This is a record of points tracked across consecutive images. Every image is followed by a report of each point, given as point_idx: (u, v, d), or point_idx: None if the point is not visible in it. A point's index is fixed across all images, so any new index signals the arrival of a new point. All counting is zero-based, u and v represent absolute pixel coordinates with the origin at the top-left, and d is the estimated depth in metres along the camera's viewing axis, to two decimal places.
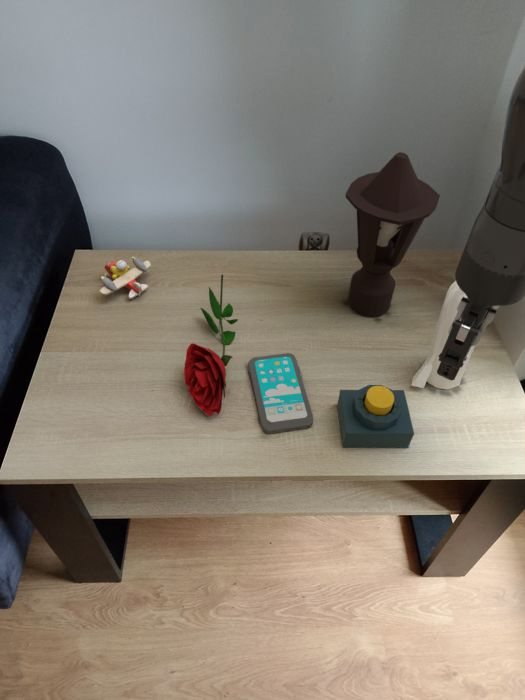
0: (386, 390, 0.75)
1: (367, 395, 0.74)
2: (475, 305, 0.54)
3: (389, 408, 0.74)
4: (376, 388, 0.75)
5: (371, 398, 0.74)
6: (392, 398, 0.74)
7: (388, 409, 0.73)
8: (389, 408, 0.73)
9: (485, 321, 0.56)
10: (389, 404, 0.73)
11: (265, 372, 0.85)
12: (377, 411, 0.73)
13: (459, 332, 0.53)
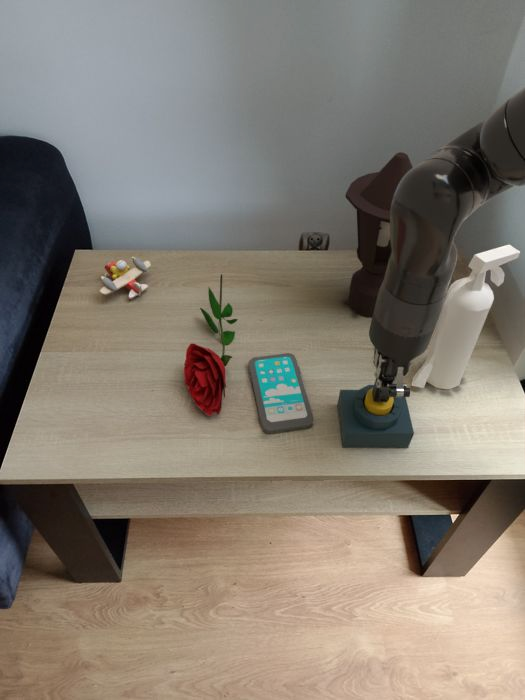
0: None
1: (367, 397, 0.74)
2: (400, 363, 0.63)
3: (388, 410, 0.74)
4: None
5: (371, 400, 0.74)
6: (391, 400, 0.74)
7: (388, 410, 0.74)
8: (388, 410, 0.74)
9: None
10: (388, 406, 0.73)
11: (265, 372, 0.85)
12: (376, 413, 0.74)
13: (396, 396, 0.64)
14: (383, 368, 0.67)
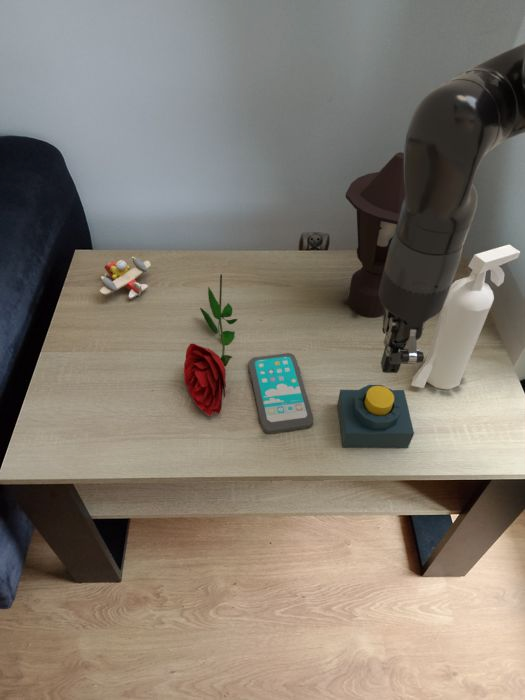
0: (386, 390, 0.75)
1: (367, 395, 0.74)
2: (413, 324, 0.58)
3: (389, 408, 0.74)
4: (376, 388, 0.75)
5: (371, 398, 0.74)
6: (392, 398, 0.74)
7: (388, 409, 0.74)
8: (389, 408, 0.73)
9: None
10: (389, 404, 0.73)
11: (265, 372, 0.85)
12: (377, 411, 0.73)
13: (408, 362, 0.59)
14: (394, 333, 0.61)
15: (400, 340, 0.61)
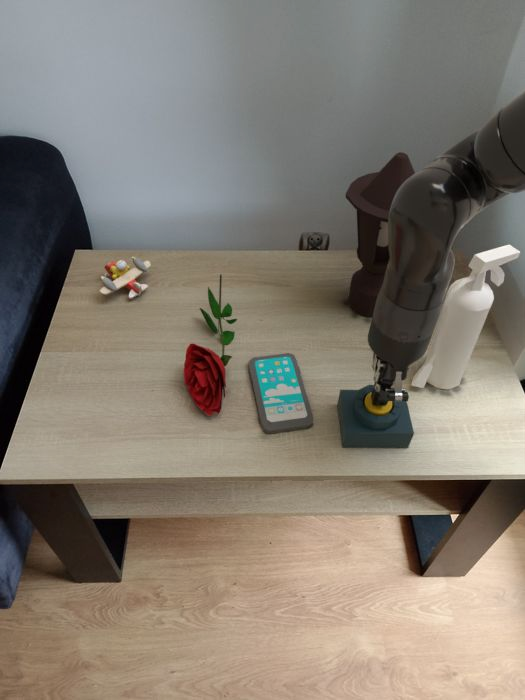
0: None
1: (366, 400, 0.75)
2: (399, 367, 0.63)
3: (387, 413, 0.74)
4: None
5: (370, 404, 0.75)
6: (390, 403, 0.75)
7: (387, 414, 0.74)
8: (387, 414, 0.74)
9: None
10: (387, 409, 0.74)
11: (265, 372, 0.85)
12: None
13: None
14: (382, 372, 0.67)
15: (387, 380, 0.66)
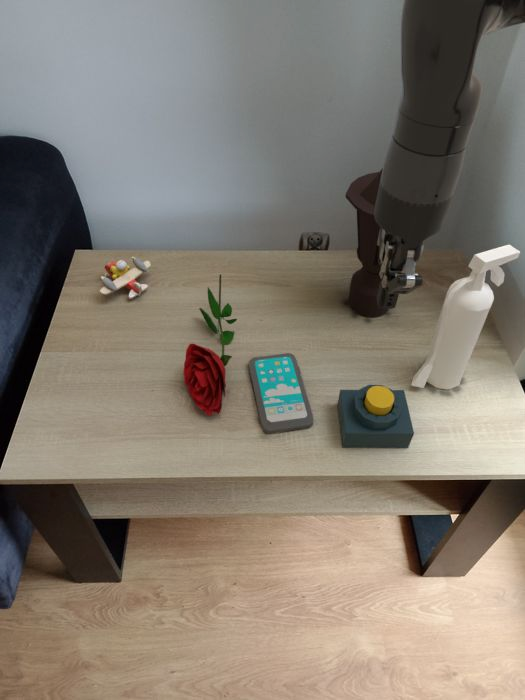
0: (386, 390, 0.75)
1: (367, 395, 0.74)
2: (411, 243, 0.53)
3: (389, 408, 0.74)
4: (376, 388, 0.75)
5: (371, 398, 0.74)
6: (392, 398, 0.74)
7: (388, 409, 0.74)
8: (389, 408, 0.73)
9: None
10: (389, 404, 0.73)
11: (265, 372, 0.85)
12: (377, 411, 0.73)
13: (405, 286, 0.55)
14: (390, 258, 0.57)
15: (397, 265, 0.56)
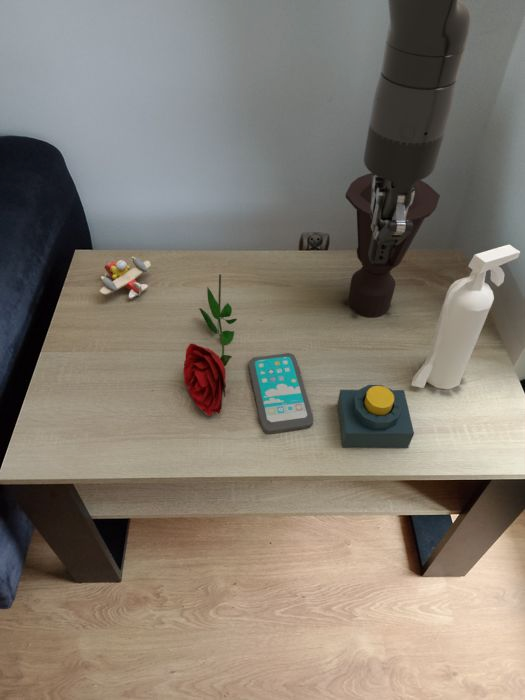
0: (386, 390, 0.75)
1: (367, 395, 0.74)
2: (401, 187, 0.52)
3: (389, 408, 0.74)
4: (376, 388, 0.75)
5: (371, 398, 0.74)
6: (392, 398, 0.74)
7: (388, 409, 0.74)
8: (389, 408, 0.73)
9: None
10: (389, 404, 0.73)
11: (265, 372, 0.85)
12: (377, 411, 0.73)
13: (396, 232, 0.54)
14: (381, 205, 0.56)
15: (387, 212, 0.56)
